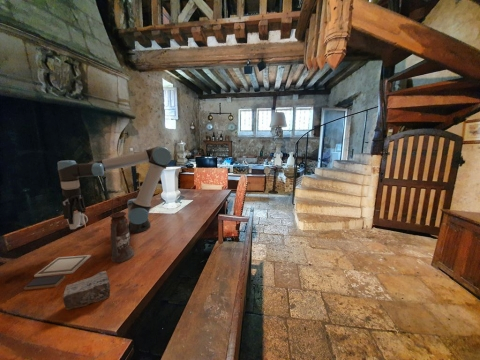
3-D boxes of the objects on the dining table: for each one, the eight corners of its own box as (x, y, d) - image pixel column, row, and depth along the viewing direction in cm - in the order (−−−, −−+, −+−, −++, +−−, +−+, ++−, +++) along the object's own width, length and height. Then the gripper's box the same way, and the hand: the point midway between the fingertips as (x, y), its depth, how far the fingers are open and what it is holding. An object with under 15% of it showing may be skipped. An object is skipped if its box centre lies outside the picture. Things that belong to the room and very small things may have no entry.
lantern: (103, 266, 93) (94, 202, 86) (120, 248, 108) (113, 193, 102) (126, 265, 94) (118, 201, 87) (139, 247, 110) (133, 192, 103)
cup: (71, 225, 107) (69, 212, 106) (91, 223, 110) (89, 210, 109) (64, 230, 101) (61, 216, 99) (85, 227, 104) (83, 214, 102)
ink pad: (65, 277, 85) (65, 274, 84) (56, 286, 79) (55, 283, 79) (36, 280, 83) (35, 277, 82) (24, 289, 77) (23, 286, 77)
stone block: (111, 283, 82) (109, 268, 80) (111, 297, 75) (109, 281, 73) (69, 298, 74) (66, 282, 72) (65, 315, 66) (61, 297, 65)
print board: (90, 256, 101) (90, 254, 101) (72, 273, 88) (72, 271, 87) (58, 258, 98) (57, 257, 98) (34, 277, 85) (33, 275, 85)
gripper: (75, 184, 110) (82, 219, 114) (48, 192, 91) (56, 234, 95) (89, 184, 111) (95, 218, 115) (65, 192, 92) (73, 233, 96)
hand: (77, 225), depth 105 cm, fingers closed on cup, 6 cm apart
